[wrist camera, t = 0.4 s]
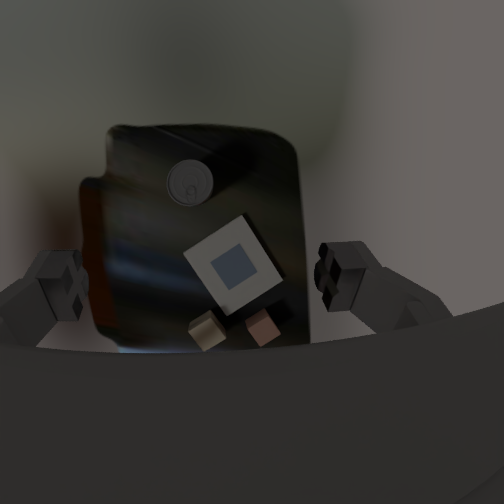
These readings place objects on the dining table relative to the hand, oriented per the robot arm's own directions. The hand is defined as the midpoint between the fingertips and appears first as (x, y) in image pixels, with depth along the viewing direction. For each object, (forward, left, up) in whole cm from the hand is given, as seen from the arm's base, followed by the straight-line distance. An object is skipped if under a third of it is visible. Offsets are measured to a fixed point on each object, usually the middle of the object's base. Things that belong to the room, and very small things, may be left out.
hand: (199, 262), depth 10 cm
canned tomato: (+7, 0, -52) cm, 52 cm away
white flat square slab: (-11, +2, -51) cm, 53 cm away
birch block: (-19, +14, -52) cm, 57 cm away
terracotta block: (-25, +4, -52) cm, 57 cm away
